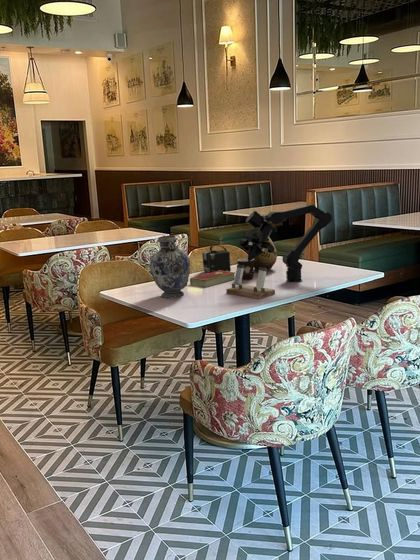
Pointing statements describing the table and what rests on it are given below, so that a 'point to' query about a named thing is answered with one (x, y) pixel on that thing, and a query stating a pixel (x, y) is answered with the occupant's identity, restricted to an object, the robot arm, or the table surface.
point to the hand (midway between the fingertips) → (248, 260)
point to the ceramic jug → (266, 258)
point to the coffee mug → (248, 268)
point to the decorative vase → (170, 267)
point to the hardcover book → (212, 278)
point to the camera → (216, 260)
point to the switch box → (250, 291)
